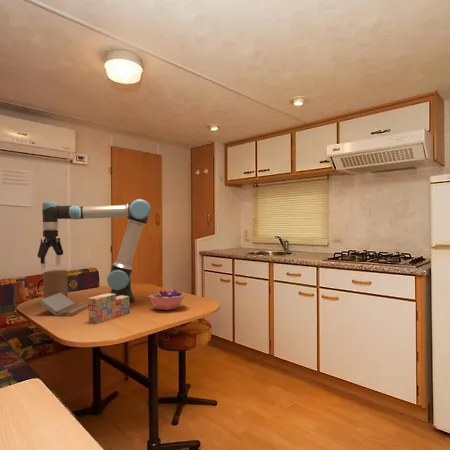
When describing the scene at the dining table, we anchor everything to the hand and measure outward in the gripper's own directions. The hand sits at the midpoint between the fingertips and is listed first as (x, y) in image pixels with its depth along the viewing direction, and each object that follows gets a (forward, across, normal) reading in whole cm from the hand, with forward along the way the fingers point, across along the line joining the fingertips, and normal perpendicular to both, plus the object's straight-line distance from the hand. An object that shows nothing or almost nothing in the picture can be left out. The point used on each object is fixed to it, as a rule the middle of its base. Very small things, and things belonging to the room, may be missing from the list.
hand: (51, 268), depth 184 cm
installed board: (+24, 0, +14) cm, 28 cm away
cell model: (+25, -7, +64) cm, 69 cm away
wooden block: (+25, -19, -10) cm, 32 cm away
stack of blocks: (+25, +10, +38) cm, 47 cm away
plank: (+21, 0, +3) cm, 21 cm away
